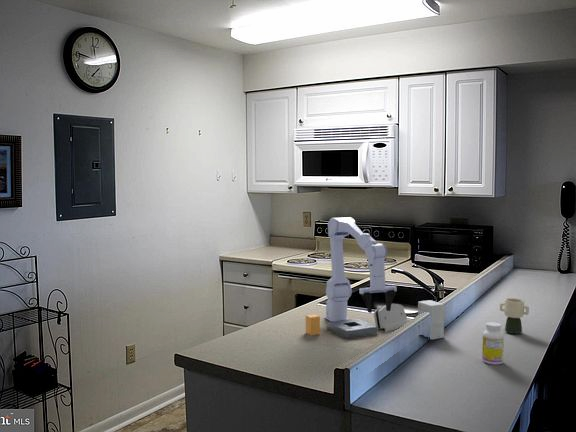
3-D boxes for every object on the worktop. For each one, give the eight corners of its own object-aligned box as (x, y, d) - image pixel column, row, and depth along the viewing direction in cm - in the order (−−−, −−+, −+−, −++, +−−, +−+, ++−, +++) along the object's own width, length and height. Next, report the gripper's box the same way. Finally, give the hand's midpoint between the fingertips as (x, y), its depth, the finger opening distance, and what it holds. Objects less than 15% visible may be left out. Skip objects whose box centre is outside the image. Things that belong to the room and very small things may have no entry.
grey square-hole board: (327, 329, 221) (327, 322, 221) (357, 325, 228) (357, 318, 227) (346, 338, 209) (346, 331, 209) (377, 334, 215) (377, 326, 215)
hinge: (385, 331, 218) (379, 306, 220) (376, 333, 222) (370, 308, 223) (411, 324, 229) (405, 300, 231) (402, 325, 233) (396, 302, 234)
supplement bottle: (486, 357, 188) (487, 320, 187) (506, 361, 184) (507, 323, 183) (479, 362, 183) (480, 324, 182) (499, 366, 179) (500, 327, 178)
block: (305, 332, 217) (305, 315, 216) (314, 331, 219) (314, 314, 218) (310, 335, 213) (310, 317, 213) (319, 334, 215) (319, 316, 215)
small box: (444, 337, 210) (444, 304, 209) (430, 340, 208) (431, 305, 207) (429, 332, 218) (430, 299, 217) (417, 334, 215) (417, 301, 214)
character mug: (530, 333, 216) (531, 300, 215) (525, 337, 211) (526, 303, 210) (502, 328, 223) (502, 296, 222) (496, 332, 217) (497, 299, 216)
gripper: (363, 278, 204) (365, 314, 204) (399, 275, 208) (401, 311, 208) (356, 276, 211) (358, 312, 211) (391, 273, 215) (393, 308, 214)
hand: (379, 311), depth 210 cm, fingers open, 7 cm apart
